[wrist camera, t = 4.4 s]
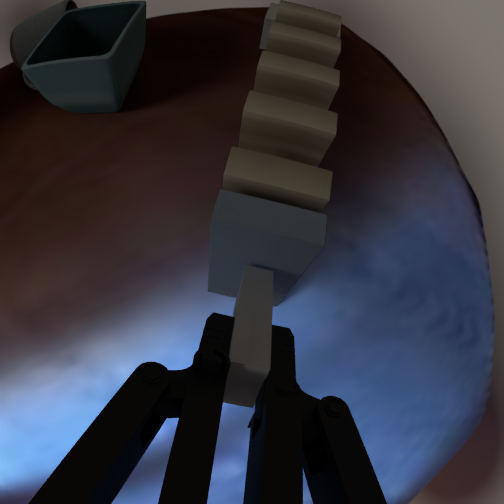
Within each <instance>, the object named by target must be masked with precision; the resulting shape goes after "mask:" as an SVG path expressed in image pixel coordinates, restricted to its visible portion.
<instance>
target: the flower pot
mask: <svg viewBox="0 0 504 504" xmlns="http://www.w3.org/2000/svg"><path fill="white" fill-rule="evenodd" d="M145 36H146V1H131V2H121V3H112V4H104V5H96V6H89V7H84V8H78V9H73V10H69V11H66V12H64V13H63V14H62V15H61V16H60V17H59V18H58V20H57V21H56V22H55V23H54V24H53V26H52V27H51V28H50V29H49V31H48V32H47V33H46V34H45V36H44V37H43V38H42V40H41V41H40V42H39V43H38V45H37V46H36V47H35V48H34V50H33V51H32V52H31V54H30V55H29V56H28V58H27V59H26V61H25V62H24V64H23V66H22V68H21V69H22V71H23V72H24V73H25V74H26V76H27V77H28V78H29V79H30V81H31V82H32V83H33V84H34V86H35V87H36V88H37V89H38V90H39V92H40V93H41V94H42V95H43V96H44V97H45V98H46V99H47V100H48V101H49V102H50V103H52V104H53V105H55V106H57V107H59V108H62V109H64V110H67V111H70V112H74V113H113V112H118V111H119V110H120V109H121V107H122V105H123V102H124V100H125V97H126V95H127V93H128V90H129V88H130V86H131V84H132V82H133V79H134V77H135V75H136V73H137V70H138V68H139V65H140V62H141V59H142V56H143V52H144V47H145Z"/></svg>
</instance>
